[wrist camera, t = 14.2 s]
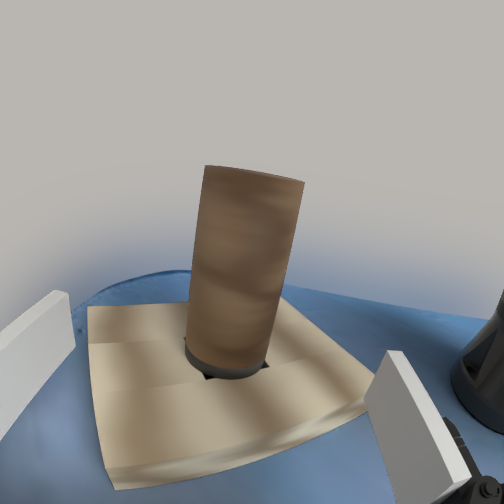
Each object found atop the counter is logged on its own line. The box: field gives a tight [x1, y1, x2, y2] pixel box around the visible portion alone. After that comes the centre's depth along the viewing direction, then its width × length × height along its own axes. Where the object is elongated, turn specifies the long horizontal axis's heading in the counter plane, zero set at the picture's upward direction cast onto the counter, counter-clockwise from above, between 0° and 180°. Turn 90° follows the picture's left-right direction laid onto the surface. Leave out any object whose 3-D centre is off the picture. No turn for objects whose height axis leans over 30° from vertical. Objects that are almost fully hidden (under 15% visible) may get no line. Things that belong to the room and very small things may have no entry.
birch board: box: [87, 296, 375, 491], centre depth 22 cm, size 20×16×3 cm
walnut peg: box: [185, 165, 305, 380], centre depth 20 cm, size 6×6×16 cm
